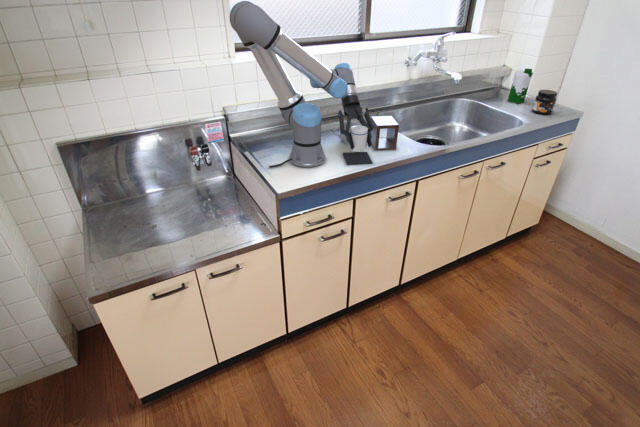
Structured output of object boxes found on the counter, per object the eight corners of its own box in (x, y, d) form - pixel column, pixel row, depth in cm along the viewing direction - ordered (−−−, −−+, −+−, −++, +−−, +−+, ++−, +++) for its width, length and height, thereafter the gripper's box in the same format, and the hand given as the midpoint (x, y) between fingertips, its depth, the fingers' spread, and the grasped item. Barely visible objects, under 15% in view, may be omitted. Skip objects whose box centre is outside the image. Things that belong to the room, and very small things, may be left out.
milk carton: (519, 104, 236) (529, 71, 225) (505, 101, 242) (514, 68, 231) (526, 102, 241) (536, 68, 230) (512, 98, 247) (521, 66, 236)
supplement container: (528, 112, 225) (534, 91, 218) (536, 108, 231) (542, 88, 224) (547, 116, 218) (554, 95, 211) (554, 112, 224) (561, 92, 217)
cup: (351, 152, 164) (352, 132, 159) (348, 145, 170) (349, 125, 165) (368, 151, 164) (369, 131, 159) (364, 144, 170) (365, 124, 165)
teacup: (361, 137, 190) (362, 122, 186) (361, 146, 181) (362, 130, 177) (333, 136, 191) (333, 120, 187) (331, 145, 182) (332, 129, 178)
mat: (347, 165, 165) (347, 163, 164) (342, 154, 174) (342, 152, 173) (372, 163, 166) (372, 162, 165) (366, 153, 175) (366, 151, 174)
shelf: (374, 150, 177) (377, 125, 171) (369, 140, 187) (371, 116, 181) (395, 149, 178) (399, 124, 172) (389, 139, 188) (391, 115, 182)
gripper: (368, 100, 173) (380, 147, 169) (325, 104, 168) (336, 153, 164) (374, 91, 166) (386, 141, 162) (329, 95, 161) (341, 146, 157)
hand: (361, 147), depth 163 cm, fingers closed on cup, 7 cm apart
